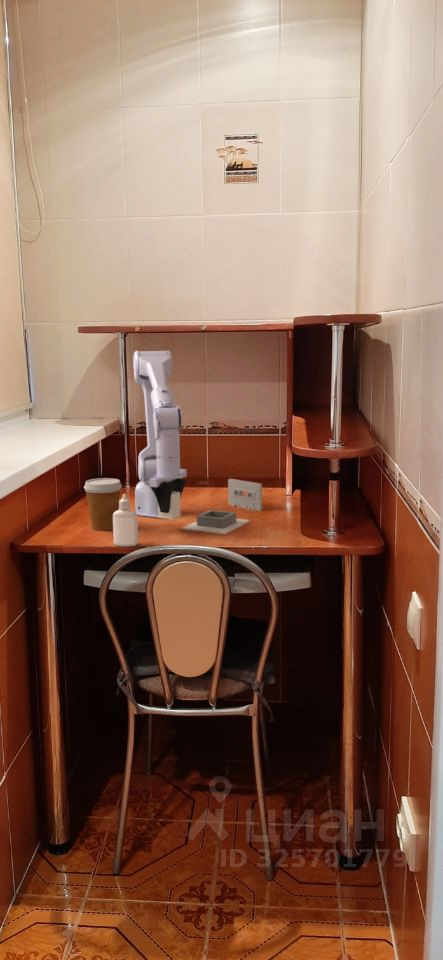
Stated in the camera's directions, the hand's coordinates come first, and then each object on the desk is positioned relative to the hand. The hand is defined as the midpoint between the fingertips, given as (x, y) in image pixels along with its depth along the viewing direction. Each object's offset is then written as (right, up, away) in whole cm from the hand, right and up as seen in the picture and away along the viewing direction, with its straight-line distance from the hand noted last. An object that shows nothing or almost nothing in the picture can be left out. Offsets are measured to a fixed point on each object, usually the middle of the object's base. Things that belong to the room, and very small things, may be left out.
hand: (169, 510), depth 192 cm
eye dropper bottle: (-9, -8, -11) cm, 16 cm away
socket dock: (+12, -4, +6) cm, 14 cm away
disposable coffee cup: (-17, -5, +5) cm, 18 cm away
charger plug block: (0, -2, 0) cm, 2 cm away
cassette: (+19, -1, +25) cm, 32 cm away
